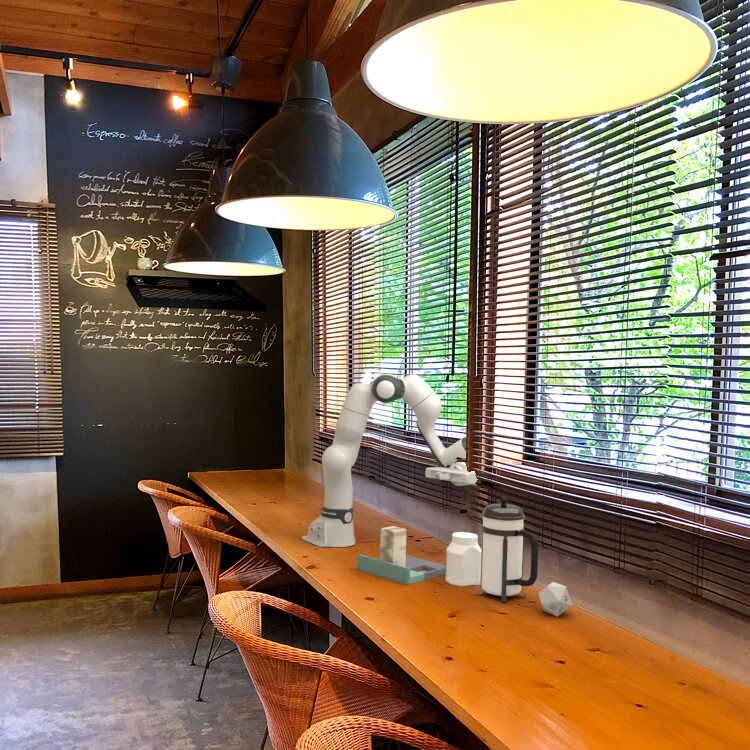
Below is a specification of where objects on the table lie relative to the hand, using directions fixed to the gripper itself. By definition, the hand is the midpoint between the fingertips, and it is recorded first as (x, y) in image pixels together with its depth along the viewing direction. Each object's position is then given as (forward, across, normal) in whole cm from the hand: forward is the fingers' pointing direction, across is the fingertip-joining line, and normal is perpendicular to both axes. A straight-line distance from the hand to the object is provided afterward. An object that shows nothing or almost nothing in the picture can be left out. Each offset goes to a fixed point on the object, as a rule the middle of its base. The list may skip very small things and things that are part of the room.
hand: (436, 476), depth 253 cm
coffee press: (+17, +42, +30) cm, 54 cm away
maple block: (+26, +4, +28) cm, 38 cm away
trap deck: (+20, +3, +30) cm, 36 cm away
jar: (+14, +24, +30) cm, 41 cm away
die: (+19, +60, +30) cm, 70 cm away
